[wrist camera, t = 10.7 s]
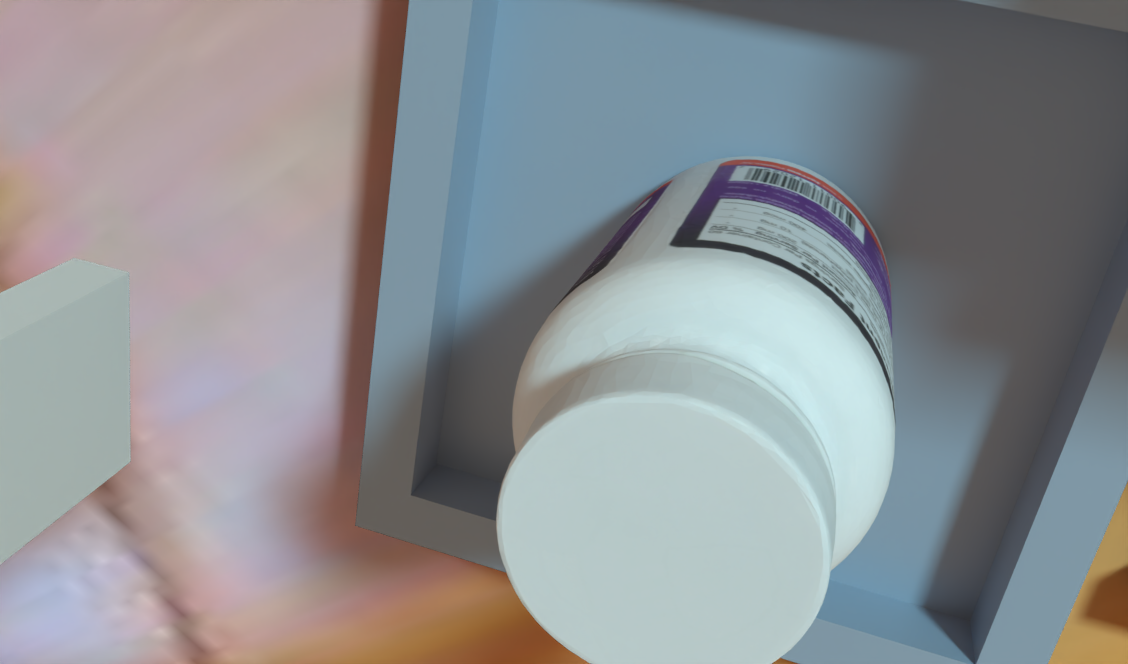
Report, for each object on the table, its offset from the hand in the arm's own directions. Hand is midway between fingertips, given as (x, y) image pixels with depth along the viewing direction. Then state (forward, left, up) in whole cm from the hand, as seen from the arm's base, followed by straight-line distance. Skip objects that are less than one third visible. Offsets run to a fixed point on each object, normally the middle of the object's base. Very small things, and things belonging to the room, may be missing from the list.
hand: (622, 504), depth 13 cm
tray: (+1, 0, -10) cm, 10 cm away
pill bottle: (0, 0, -10) cm, 10 cm away
